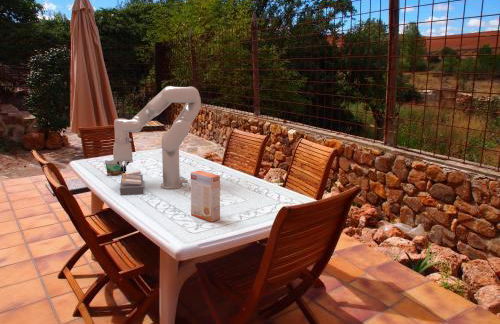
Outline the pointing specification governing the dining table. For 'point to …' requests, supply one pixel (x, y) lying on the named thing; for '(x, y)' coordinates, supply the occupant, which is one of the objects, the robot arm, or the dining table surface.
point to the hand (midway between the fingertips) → (123, 172)
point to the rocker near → (131, 181)
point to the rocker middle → (131, 177)
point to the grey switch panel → (131, 187)
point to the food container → (113, 168)
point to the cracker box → (205, 195)
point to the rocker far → (132, 173)
